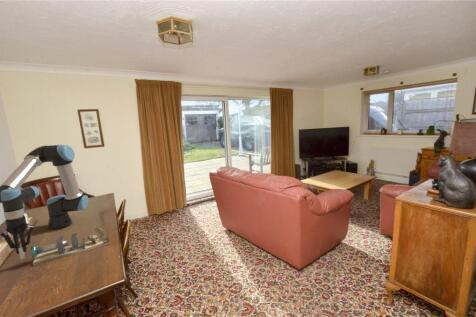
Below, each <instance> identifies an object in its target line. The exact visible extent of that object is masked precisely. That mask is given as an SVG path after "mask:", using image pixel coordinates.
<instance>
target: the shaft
mask: <svg viewBox="0 0 476 317" xmlns="http://www.w3.org/2000/svg"><path fill="white" fill-rule="evenodd" d="M63 246H65V247H68V246H69V242H68V239H67V240H64V241H63ZM30 249H31V250H30V253H31V257H32V258H34V259H35V257H37V256H38V254H42V253H46V252H49V251H53V250H57V249H58V246H57V242H55V243H50V244H46V245H42V246H38V245H37V244H33V245H31V247H30Z"/></svg>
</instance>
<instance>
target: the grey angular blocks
mask: <svg viewBox="0 0 476 317" xmlns="http://www.w3.org/2000/svg"><path fill="white" fill-rule="evenodd" d="M105 233H106V236H107V240H108V242H109V243H110V239H109V233H108V231H106V232H105ZM63 241H65V238H64V236H59V237H58V238H57V241H56V243H57V246H58V248H57V249H58V252H59V255H60V254H64V253H65V247H66V246H63ZM70 241H71V246H72V249H73V251H75V250H78V244H79V240H78V233H72V234H71V237H70ZM85 242H86V239H85V237H82V243H83V249H85Z"/></svg>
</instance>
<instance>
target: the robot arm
mask: <svg viewBox="0 0 476 317" xmlns="http://www.w3.org/2000/svg"><path fill="white" fill-rule="evenodd" d="M75 156H76V155H75V151H74V149H73V148H72V147H71V146H70V145H68V144H54V145H53V144H52V145H40V146H39V147H36V148H34V149H32V150H31V151H30V152H29V153H28V154H26V155H25V156H24V157H23V161H22V162H21V163H20V165H18V166H17V168H16V169H14V171H13V172H11V174H10V175H9V176H8V177H7V178H6V180H5V181H3V182H2V183H1V185H0V204H2V209H3V216H4V219H5V227H6V228H5V230H4V231H2V232H1V233H0V236H1V237H3V238H4V240H5V241H6V244H7V245H8V247H9V248H10V249H11V250H12V249H15V252H16V254H17V255H19V259H20V260H25V258H26V254H25V253H26V252H27V246H29V244H31V239H32V232H33V229H34V228H35V227H34V225H29V223H27V219H26V215H25V214H26V212H25V208H24V204H25V203H26V202H30V201H32V200H34V199H36V198H38V197H39V196H40V189H39V188H38V187H37V186H33V185H31V186H27V187H21V186H22V185H23V184H24V183H25V182H26V181H27V179H28V178H29V177H30V176H31V175H32V173H33V172H34V171H35V170H36V169H37V168H38V167H40V166H41V165H42V164H44V163H51V164H52V166H53V167H56V169H57V173H58V177H59V178H60V180H61V183H62V184H61V185H62V186H63V189H64V193H65V194H60V195H55V196H52V197H50V198H47V200H46V206H47V207H46V208H47V214H48V222H47V229H48V230H57V229H61V228H64V227H67V226H69V225H71V224H72V223H73V218H72V217H71V216H70V214H69V212H80V211H84V210H86V209H87V207H88V204H89V196H88V195H86V194H84V192H83V191H82V190H81V191H80V188H79V185H78V181H77V179H76V175H75V172H74V168H73V166H72V163H73V160H75ZM26 229H27V230H28V231H27V236H26V238H25V231H26ZM9 234H11V235H12V238H13V240H12V238H11V237H10V235H9ZM19 239H20V241H19ZM20 244H21V245H20Z"/></svg>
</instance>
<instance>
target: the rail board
mask: <svg viewBox="0 0 476 317" xmlns="http://www.w3.org/2000/svg"><path fill="white" fill-rule="evenodd" d="M108 244H109V245H110V241H109V242H108V240H107V235H106V236H103V240H101V241H99V242H98V243H95V242H92V241H90V240H88V241H85V249H83V242H80V243H78V250H75V251H73V249H72V245H68V246H65V253H64V254H60V255H59V252H58V248H57V249H53V250H49V251H45V252H41V253H38V256H37V257H34V260H33V261H32V266H38V265H42V264H45V263H48V262H52V261H55V260H59V259H62V258H66V257H69V256H74V255H76V254H80V253H84V252H87V251H91V250H95V249H98V248H100V247H102V248H103V247H105V246H108Z"/></svg>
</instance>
